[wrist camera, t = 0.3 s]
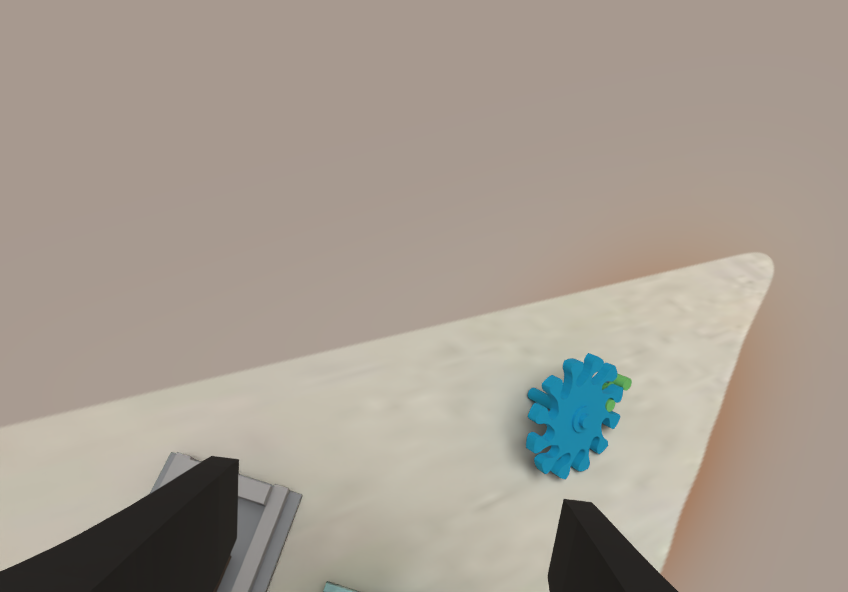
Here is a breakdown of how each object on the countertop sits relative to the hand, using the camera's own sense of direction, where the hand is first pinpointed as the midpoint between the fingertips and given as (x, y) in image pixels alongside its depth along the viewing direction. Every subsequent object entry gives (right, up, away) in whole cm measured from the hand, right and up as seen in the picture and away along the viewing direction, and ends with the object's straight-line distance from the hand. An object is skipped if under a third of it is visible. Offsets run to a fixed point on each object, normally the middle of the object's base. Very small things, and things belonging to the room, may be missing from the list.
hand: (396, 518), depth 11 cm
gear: (+12, -6, +32) cm, 35 cm away
